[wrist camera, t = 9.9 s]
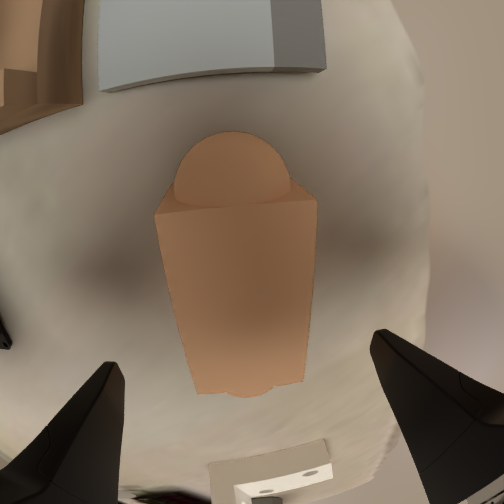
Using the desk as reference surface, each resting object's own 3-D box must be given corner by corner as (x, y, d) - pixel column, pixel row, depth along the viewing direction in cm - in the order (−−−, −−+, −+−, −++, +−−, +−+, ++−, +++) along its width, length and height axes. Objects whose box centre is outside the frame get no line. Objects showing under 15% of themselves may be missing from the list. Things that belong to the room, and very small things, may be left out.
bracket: (228, 477, 29) (234, 525, 22) (208, 461, 26) (213, 518, 19) (325, 455, 29) (340, 503, 22) (322, 436, 26) (341, 493, 19)
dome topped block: (203, 360, 18) (205, 416, 14) (166, 136, 12) (144, 145, 8) (283, 350, 18) (300, 404, 14) (284, 127, 12) (317, 132, 8)
